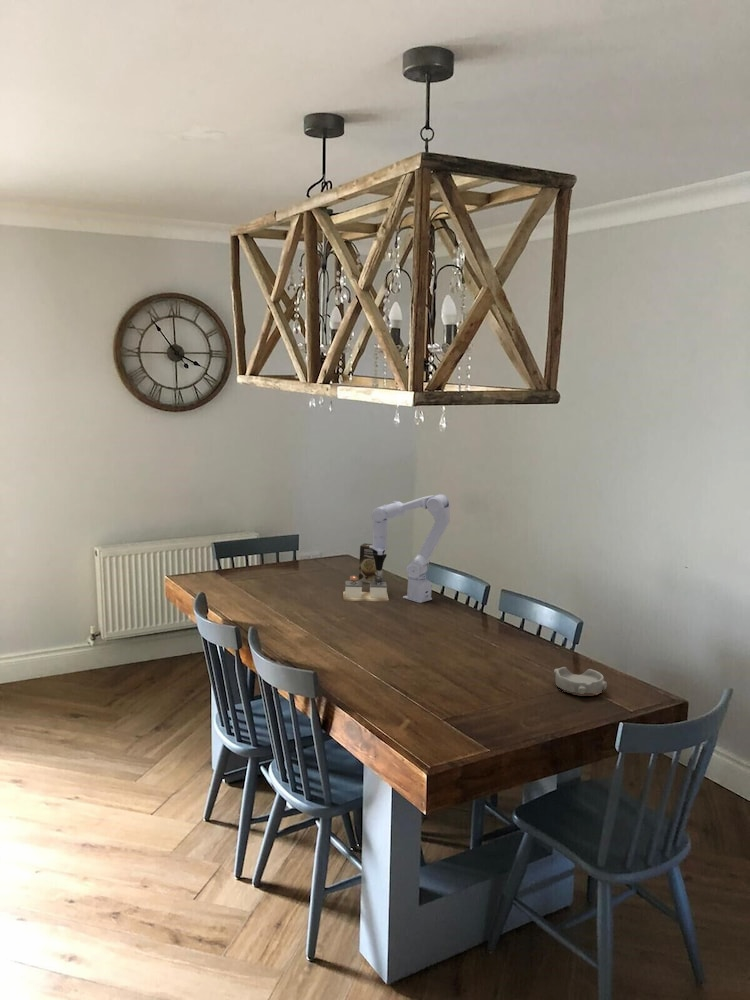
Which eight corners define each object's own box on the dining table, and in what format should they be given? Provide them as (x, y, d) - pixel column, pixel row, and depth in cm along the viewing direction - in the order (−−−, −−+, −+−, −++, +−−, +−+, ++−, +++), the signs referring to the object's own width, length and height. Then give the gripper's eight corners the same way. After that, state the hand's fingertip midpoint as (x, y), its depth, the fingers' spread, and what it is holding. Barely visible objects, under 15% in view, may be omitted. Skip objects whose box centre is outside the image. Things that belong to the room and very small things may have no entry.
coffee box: (358, 582, 351) (359, 545, 348) (362, 578, 357) (363, 542, 354) (378, 584, 348) (379, 547, 346) (382, 580, 354) (383, 544, 352)
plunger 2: (381, 591, 330) (382, 576, 329) (382, 593, 326) (382, 578, 325) (373, 591, 329) (374, 576, 328) (374, 593, 326) (374, 578, 325)
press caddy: (385, 593, 332) (386, 581, 331) (386, 598, 325) (387, 586, 324) (345, 592, 331) (345, 580, 330) (345, 597, 324) (345, 585, 323)
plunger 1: (357, 590, 329) (357, 575, 328) (357, 592, 326) (358, 577, 325) (349, 590, 329) (349, 575, 328) (349, 592, 326) (350, 577, 325)
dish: (547, 682, 247) (548, 666, 246) (588, 679, 250) (590, 664, 249) (569, 701, 233) (570, 685, 232) (612, 698, 236) (614, 682, 235)
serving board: (386, 594, 334) (387, 592, 333) (388, 601, 324) (388, 599, 324) (343, 593, 333) (343, 591, 332) (343, 600, 323) (343, 598, 323)
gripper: (369, 531, 339) (368, 563, 341) (370, 539, 325) (369, 572, 327) (386, 532, 339) (384, 563, 341) (388, 539, 325) (386, 572, 327)
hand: (378, 568), depth 334 cm, fingers open, 7 cm apart
